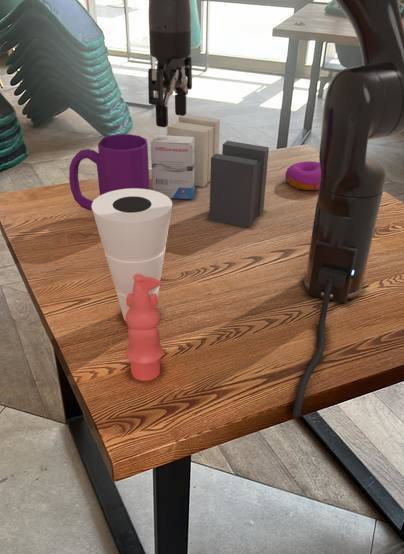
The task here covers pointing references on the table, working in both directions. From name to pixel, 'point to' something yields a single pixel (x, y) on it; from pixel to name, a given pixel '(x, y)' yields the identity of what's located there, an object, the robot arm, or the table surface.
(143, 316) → the figurine
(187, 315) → the table surface
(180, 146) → the ink box
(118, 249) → the cup
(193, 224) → the table surface
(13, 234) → the table surface
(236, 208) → the grey books
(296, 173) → the donut
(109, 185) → the mug
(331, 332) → the table surface
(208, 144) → the cream books
